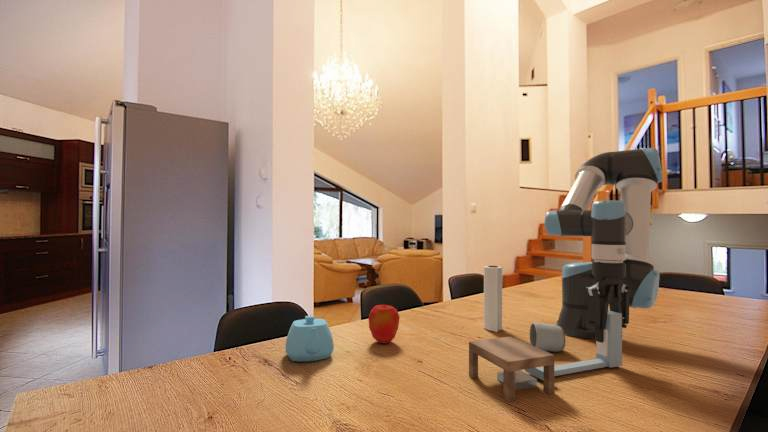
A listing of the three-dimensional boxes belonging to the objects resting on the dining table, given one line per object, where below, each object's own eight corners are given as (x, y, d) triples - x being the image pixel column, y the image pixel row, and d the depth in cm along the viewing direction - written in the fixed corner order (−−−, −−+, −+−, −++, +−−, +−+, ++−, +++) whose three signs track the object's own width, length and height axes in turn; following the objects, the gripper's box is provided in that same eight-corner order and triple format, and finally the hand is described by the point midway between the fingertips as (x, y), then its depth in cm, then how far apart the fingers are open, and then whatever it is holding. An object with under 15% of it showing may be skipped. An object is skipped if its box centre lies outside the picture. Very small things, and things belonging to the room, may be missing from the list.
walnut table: (510, 369, 93) (510, 336, 93) (554, 392, 80) (554, 355, 80) (468, 375, 89) (469, 341, 89) (508, 402, 76) (508, 362, 76)
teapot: (288, 328, 90) (284, 311, 107) (288, 373, 90) (283, 349, 107) (340, 323, 94) (328, 308, 111) (340, 367, 94) (327, 344, 111)
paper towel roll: (487, 325, 133) (487, 264, 134) (504, 328, 130) (504, 266, 130) (479, 330, 127) (479, 266, 128) (497, 333, 124) (497, 268, 124)
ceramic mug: (567, 355, 103) (567, 327, 104) (536, 354, 104) (536, 326, 104) (553, 344, 114) (553, 318, 114) (525, 342, 115) (525, 317, 115)
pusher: (602, 358, 100) (602, 308, 100) (627, 367, 93) (627, 314, 93) (525, 371, 90) (524, 316, 91) (547, 382, 84) (547, 324, 84)
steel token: (517, 377, 89) (517, 369, 89) (536, 388, 84) (536, 379, 84) (497, 381, 87) (497, 372, 87) (515, 392, 81) (515, 383, 81)
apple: (363, 344, 111) (363, 304, 111) (375, 336, 119) (375, 298, 120) (393, 349, 107) (393, 306, 108) (403, 340, 116) (403, 300, 116)
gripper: (597, 263, 90) (597, 362, 89) (646, 261, 96) (646, 354, 95) (571, 260, 97) (571, 352, 96) (618, 258, 103) (618, 345, 102)
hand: (608, 353), depth 96 cm, fingers closed on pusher, 4 cm apart
